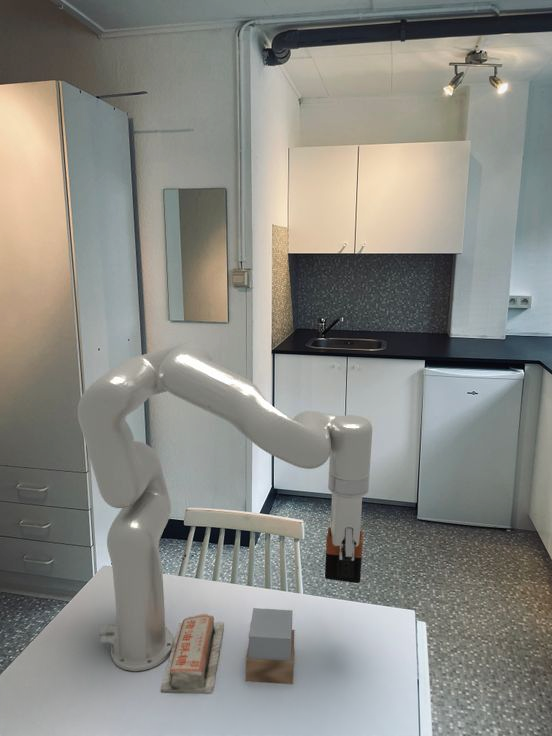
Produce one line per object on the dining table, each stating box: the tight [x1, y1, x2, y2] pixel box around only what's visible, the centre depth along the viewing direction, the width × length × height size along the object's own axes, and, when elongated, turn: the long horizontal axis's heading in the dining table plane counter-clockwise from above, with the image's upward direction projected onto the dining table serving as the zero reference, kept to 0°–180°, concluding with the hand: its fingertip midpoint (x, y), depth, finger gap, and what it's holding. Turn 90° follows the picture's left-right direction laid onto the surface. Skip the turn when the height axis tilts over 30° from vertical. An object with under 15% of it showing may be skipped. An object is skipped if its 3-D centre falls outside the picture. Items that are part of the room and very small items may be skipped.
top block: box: [248, 607, 293, 661], centre depth 105 cm, size 8×8×5 cm
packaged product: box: [160, 613, 225, 694], centre depth 109 cm, size 18×5×10 cm
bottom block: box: [245, 629, 296, 685], centre depth 107 cm, size 9×9×5 cm
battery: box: [324, 527, 364, 584], centre depth 104 cm, size 4×7×10 cm, turn 79°
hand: (343, 566), depth 104 cm, fingers closed on battery, 4 cm apart
